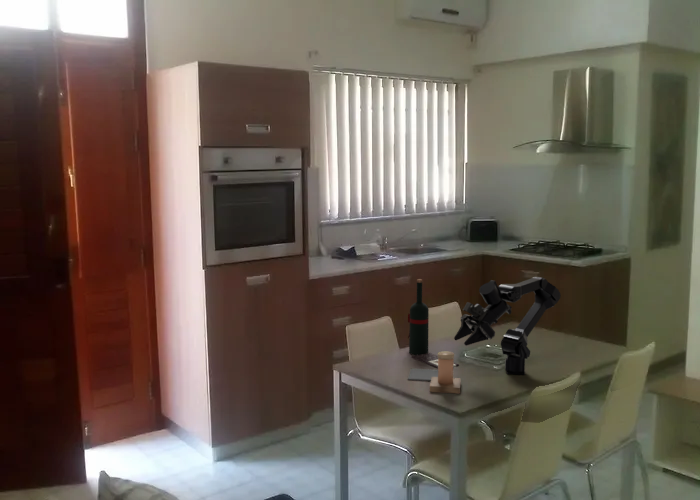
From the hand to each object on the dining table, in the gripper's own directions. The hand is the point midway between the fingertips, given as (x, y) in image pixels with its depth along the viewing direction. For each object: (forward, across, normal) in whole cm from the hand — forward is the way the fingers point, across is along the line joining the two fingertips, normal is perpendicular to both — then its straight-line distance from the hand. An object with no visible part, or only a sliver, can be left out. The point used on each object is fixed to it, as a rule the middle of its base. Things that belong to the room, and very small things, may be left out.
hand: (459, 341), depth 234 cm
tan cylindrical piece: (+13, +4, +6) cm, 15 cm away
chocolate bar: (+8, -26, +11) cm, 29 cm away
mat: (+15, -10, +6) cm, 19 cm away
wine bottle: (+9, -40, +8) cm, 42 cm away
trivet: (+14, +4, +8) cm, 17 cm away
